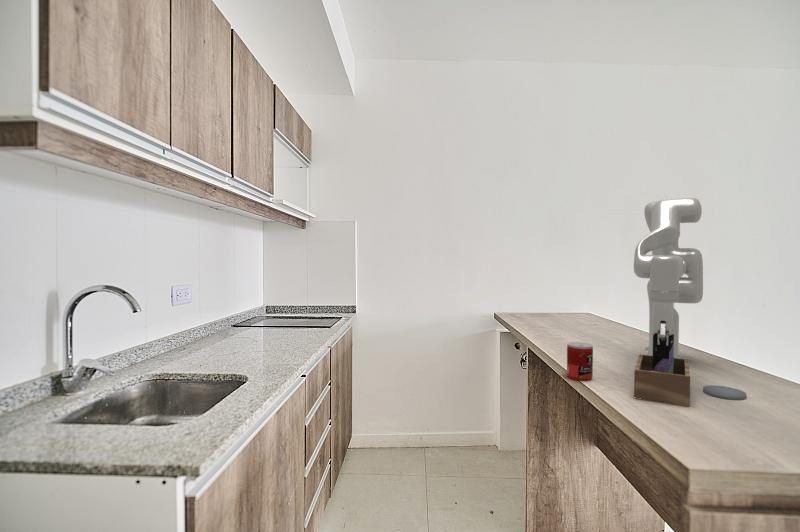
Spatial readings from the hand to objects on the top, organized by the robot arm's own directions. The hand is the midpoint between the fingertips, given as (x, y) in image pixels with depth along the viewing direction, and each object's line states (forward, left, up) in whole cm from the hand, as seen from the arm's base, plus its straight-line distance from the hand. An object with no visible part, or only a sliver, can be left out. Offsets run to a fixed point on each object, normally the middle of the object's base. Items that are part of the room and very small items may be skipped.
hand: (663, 355), depth 132 cm
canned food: (-12, -20, -10) cm, 25 cm away
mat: (+8, +13, -9) cm, 18 cm away
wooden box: (+4, -3, -9) cm, 11 cm away
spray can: (0, 0, -10) cm, 10 cm away
